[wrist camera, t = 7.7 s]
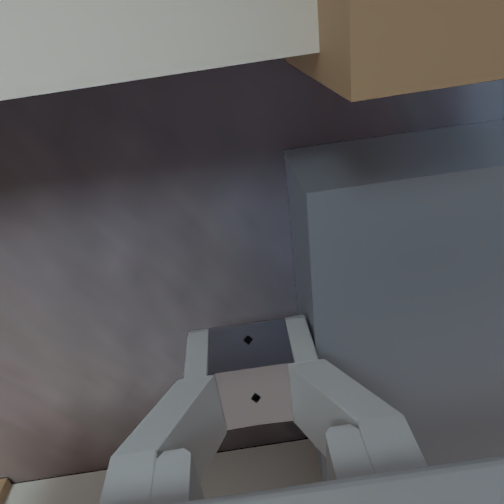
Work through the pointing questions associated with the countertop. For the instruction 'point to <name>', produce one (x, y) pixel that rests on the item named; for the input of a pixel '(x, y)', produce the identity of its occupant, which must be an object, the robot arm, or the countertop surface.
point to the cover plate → (409, 276)
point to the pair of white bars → (228, 54)
